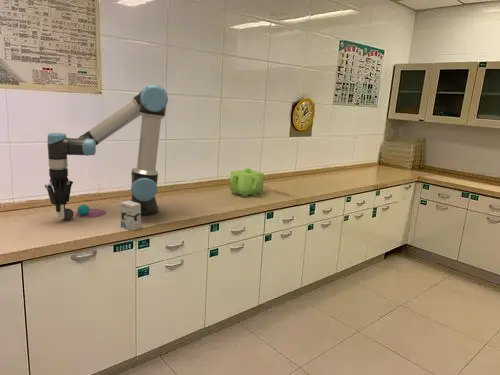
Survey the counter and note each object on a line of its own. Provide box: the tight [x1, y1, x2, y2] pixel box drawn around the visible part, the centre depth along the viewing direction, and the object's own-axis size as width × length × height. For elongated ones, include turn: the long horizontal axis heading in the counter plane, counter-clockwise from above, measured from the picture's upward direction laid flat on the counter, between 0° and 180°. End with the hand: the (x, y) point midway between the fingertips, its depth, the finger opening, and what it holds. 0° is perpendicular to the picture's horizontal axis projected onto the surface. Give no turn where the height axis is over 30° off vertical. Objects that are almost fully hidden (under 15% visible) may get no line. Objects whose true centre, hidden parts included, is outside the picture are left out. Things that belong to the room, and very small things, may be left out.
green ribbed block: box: [229, 168, 265, 198], centre depth 246 cm, size 25×23×17 cm
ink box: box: [120, 200, 142, 231], centre depth 173 cm, size 8×5×12 cm, turn 56°
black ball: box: [62, 207, 75, 221], centre depth 178 cm, size 6×6×6 cm
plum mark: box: [75, 208, 107, 218], centre depth 191 cm, size 14×14×1 cm
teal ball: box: [76, 203, 91, 216], centre depth 186 cm, size 6×6×6 cm
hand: (61, 217), depth 175 cm, fingers closed
